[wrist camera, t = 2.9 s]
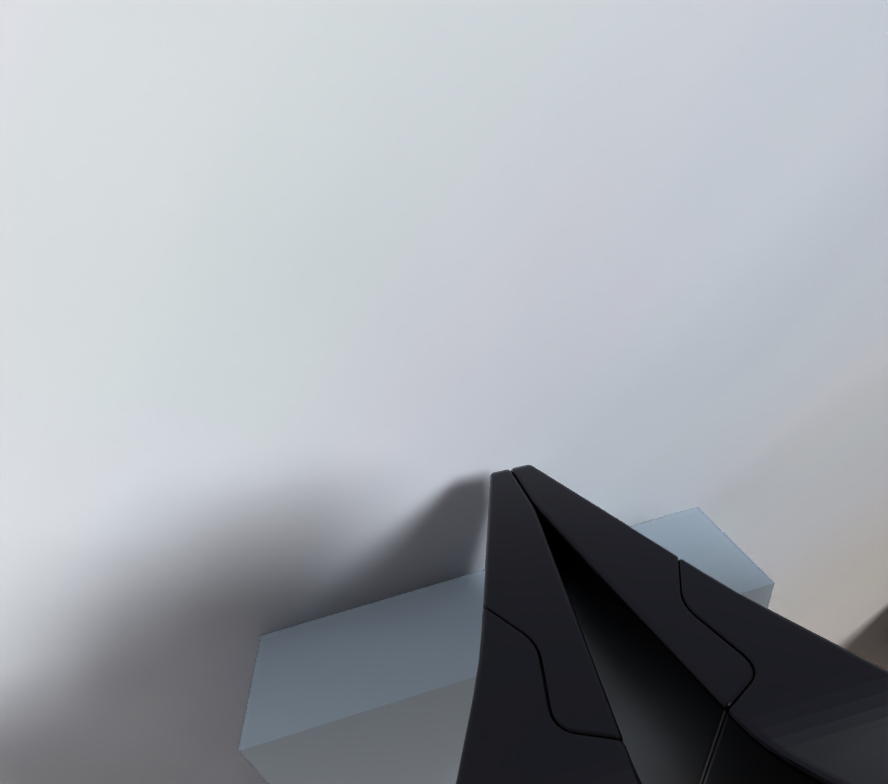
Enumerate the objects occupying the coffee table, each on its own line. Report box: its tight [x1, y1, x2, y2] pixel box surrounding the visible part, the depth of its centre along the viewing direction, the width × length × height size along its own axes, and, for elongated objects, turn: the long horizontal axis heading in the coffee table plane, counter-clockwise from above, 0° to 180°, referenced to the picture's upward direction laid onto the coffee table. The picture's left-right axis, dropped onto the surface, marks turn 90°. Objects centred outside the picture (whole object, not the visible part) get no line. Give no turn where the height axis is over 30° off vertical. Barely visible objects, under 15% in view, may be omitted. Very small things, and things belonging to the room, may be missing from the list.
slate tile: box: [238, 507, 774, 784], centre depth 15 cm, size 12×18×3 cm, turn 12°
